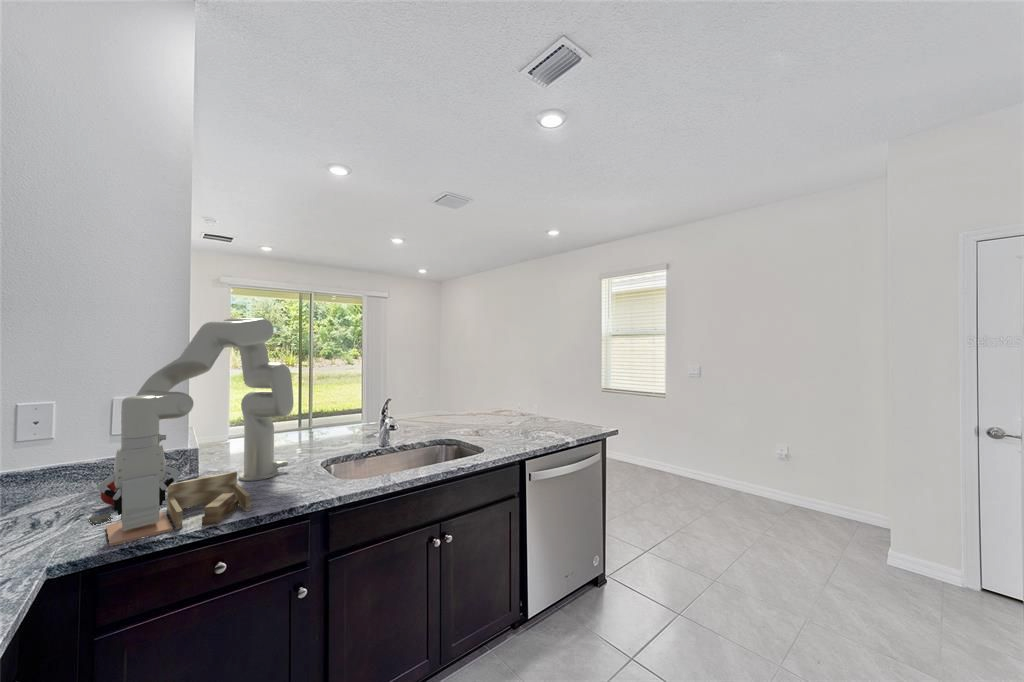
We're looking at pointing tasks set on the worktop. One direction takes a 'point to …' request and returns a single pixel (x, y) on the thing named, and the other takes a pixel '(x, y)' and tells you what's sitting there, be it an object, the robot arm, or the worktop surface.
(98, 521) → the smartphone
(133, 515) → the supplement box
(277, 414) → the robot arm
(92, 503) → the worktop surface
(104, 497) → the onion
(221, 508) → the brown wooden rectangular block
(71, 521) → the worktop surface
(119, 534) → the terracotta tile
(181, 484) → the light wood blocky piece
